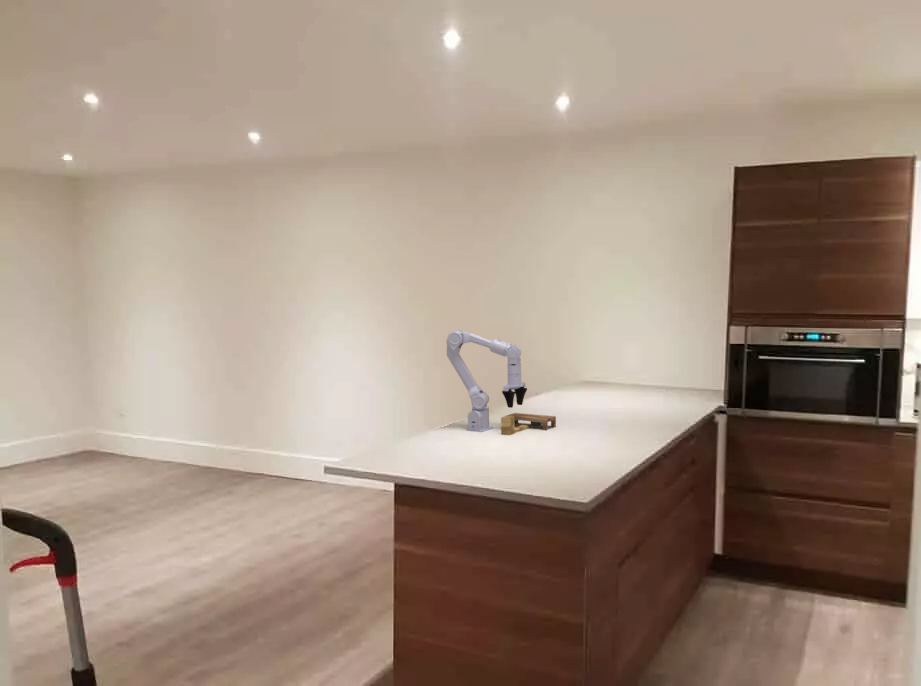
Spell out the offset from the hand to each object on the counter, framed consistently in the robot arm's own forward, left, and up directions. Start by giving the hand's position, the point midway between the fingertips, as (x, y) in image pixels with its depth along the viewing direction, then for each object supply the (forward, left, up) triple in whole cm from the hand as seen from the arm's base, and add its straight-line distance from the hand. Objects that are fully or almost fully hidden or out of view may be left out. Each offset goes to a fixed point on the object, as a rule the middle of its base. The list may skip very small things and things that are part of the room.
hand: (515, 406), depth 317 cm
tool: (-3, -2, -10) cm, 11 cm away
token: (+15, -3, -10) cm, 19 cm away
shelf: (+8, -2, -10) cm, 13 cm away
